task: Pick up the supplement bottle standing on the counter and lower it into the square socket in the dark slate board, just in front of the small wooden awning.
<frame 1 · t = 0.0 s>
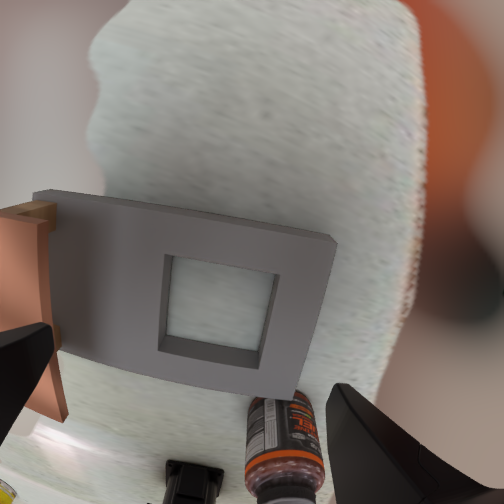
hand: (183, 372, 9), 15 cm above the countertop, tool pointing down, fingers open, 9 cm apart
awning: (37, 302, 18), on the socket plate, point 6 cm above the countertop
supplement bottle: (279, 408, 27), on the countertop
socket plate: (217, 301, 24), on the countertop
supplement bottle 2: (7, 485, 38), on the countertop
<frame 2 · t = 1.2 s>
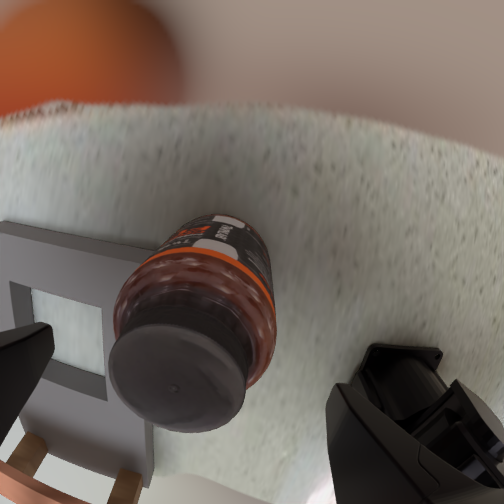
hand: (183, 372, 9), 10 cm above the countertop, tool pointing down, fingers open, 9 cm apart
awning: (63, 478, 17), on the socket plate, point 6 cm above the countertop
supplement bottle: (218, 261, 19), on the countertop
socket plate: (71, 327, 20), on the countertop
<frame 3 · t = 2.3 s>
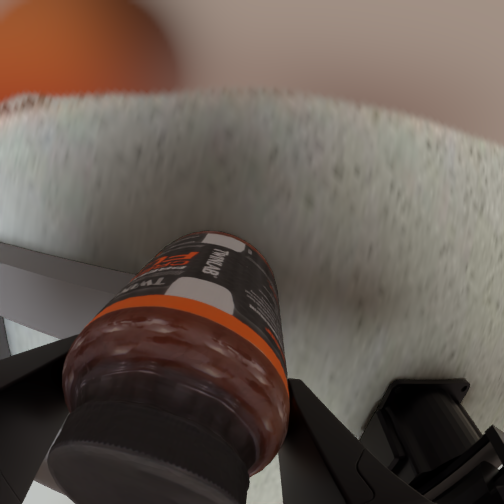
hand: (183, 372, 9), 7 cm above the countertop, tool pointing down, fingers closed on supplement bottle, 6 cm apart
supplement bottle: (213, 288, 15), on the countertop, touching gripper
socket plate: (47, 356, 17), on the countertop
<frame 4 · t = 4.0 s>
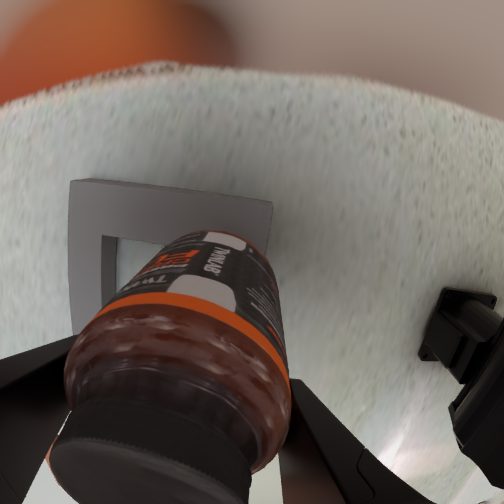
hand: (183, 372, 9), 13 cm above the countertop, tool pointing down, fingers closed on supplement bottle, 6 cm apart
supplement bottle: (213, 287, 15), point 6 cm above the countertop, touching gripper
socket plate: (163, 286, 22), on the countertop
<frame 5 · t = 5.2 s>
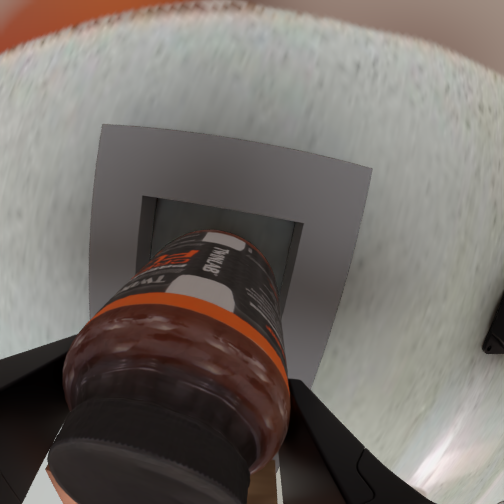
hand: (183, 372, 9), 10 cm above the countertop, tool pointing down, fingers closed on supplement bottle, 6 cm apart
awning: (181, 484, 15), on the socket plate, point 6 cm above the countertop
supplement bottle: (213, 287, 15), point 3 cm above the countertop, touching gripper
socket plate: (215, 269, 18), on the countertop
when the fingers open (8 cm above the countertop, at t = 5.9 s): supplement bottle drops 2 cm, resting in socket plate.
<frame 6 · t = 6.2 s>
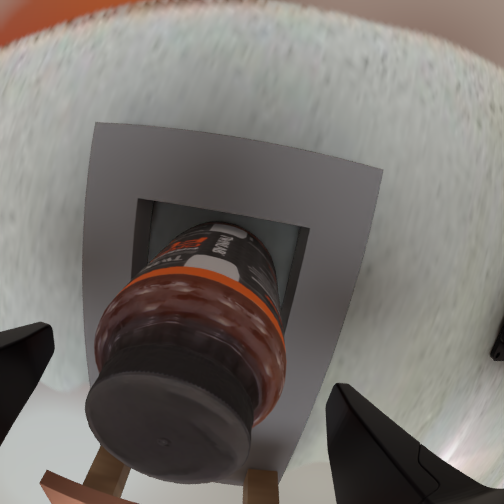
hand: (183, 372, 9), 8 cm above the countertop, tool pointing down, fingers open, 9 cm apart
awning: (180, 497, 14), on the socket plate, point 6 cm above the countertop
supplement bottle: (218, 274, 17), resting in socket plate
socket plate: (215, 275, 17), on the countertop
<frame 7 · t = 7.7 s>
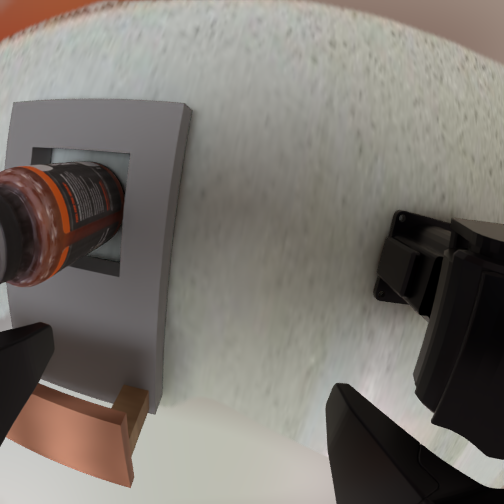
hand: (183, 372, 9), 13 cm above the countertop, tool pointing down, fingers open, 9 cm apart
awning: (55, 391, 17), on the socket plate, point 6 cm above the countertop
supplement bottle: (91, 203, 20), resting in socket plate
socket plate: (88, 204, 20), on the countertop
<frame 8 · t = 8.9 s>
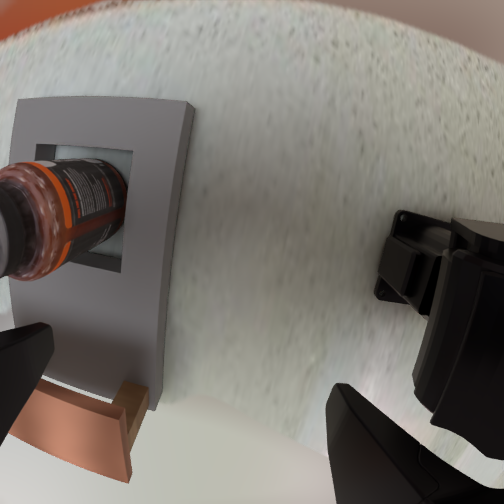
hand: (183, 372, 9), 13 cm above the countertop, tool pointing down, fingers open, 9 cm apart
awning: (55, 386, 17), on the socket plate, point 6 cm above the countertop
supplement bottle: (94, 199, 21), resting in socket plate
socket plate: (91, 200, 20), on the countertop
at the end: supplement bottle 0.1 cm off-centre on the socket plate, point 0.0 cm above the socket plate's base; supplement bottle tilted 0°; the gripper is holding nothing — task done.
